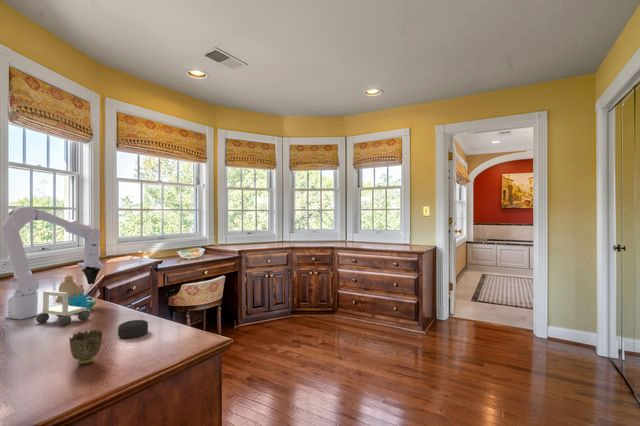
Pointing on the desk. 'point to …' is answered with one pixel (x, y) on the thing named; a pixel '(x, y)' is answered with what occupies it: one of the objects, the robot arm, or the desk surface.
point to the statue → (69, 288)
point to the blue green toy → (81, 301)
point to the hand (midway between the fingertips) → (91, 283)
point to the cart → (60, 309)
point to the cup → (85, 346)
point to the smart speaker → (132, 329)
